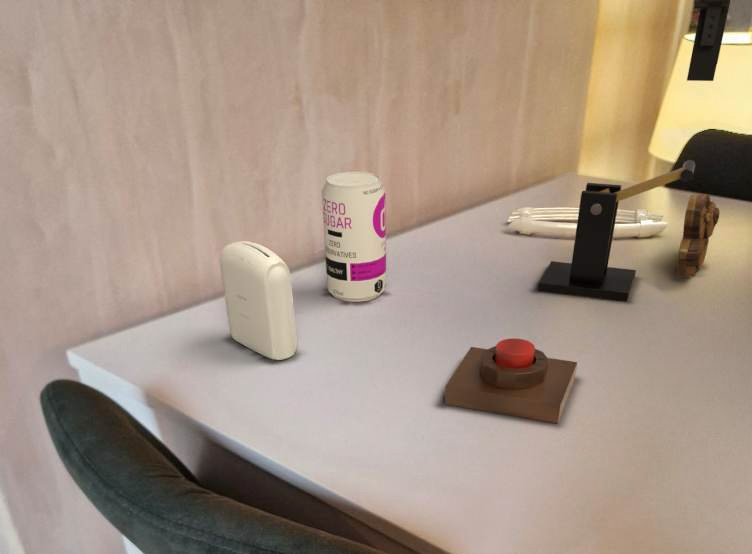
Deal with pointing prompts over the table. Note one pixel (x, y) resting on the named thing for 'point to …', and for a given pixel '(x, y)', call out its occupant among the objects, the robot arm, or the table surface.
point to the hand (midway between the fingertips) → (702, 71)
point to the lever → (657, 181)
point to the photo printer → (259, 299)
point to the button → (514, 353)
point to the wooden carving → (696, 234)
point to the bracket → (591, 252)
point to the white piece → (527, 216)
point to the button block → (511, 385)
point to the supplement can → (355, 235)
